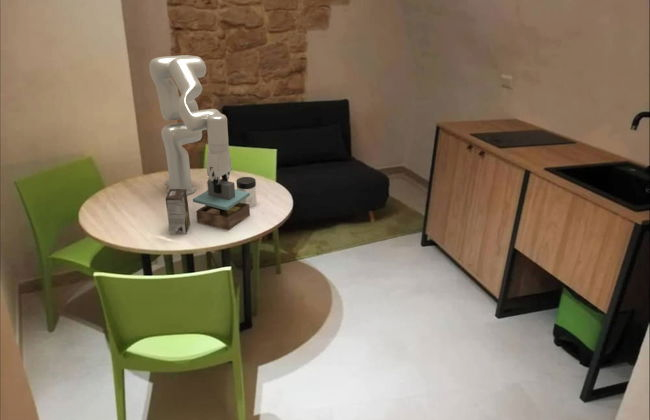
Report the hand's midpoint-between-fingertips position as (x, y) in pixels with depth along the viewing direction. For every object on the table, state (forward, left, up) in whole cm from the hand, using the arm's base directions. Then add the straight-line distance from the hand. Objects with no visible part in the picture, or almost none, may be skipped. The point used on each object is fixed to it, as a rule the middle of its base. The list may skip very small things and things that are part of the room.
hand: (221, 190), depth 194 cm
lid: (0, 0, -3) cm, 3 cm away
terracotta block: (-3, -3, -12) cm, 13 cm away
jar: (0, +17, -13) cm, 22 cm away
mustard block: (+3, +3, -12) cm, 13 cm away
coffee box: (-9, -16, -13) cm, 22 cm away
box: (0, 0, -13) cm, 13 cm away
